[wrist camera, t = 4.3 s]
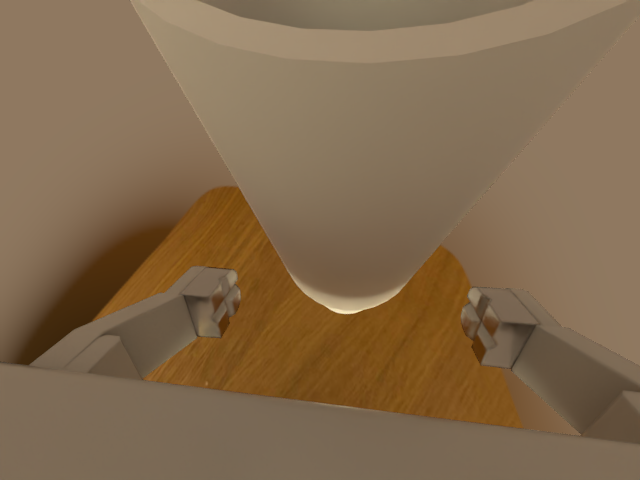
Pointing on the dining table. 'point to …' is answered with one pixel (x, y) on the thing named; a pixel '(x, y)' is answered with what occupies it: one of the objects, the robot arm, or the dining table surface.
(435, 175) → the champagne flute
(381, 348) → the dining table surface
